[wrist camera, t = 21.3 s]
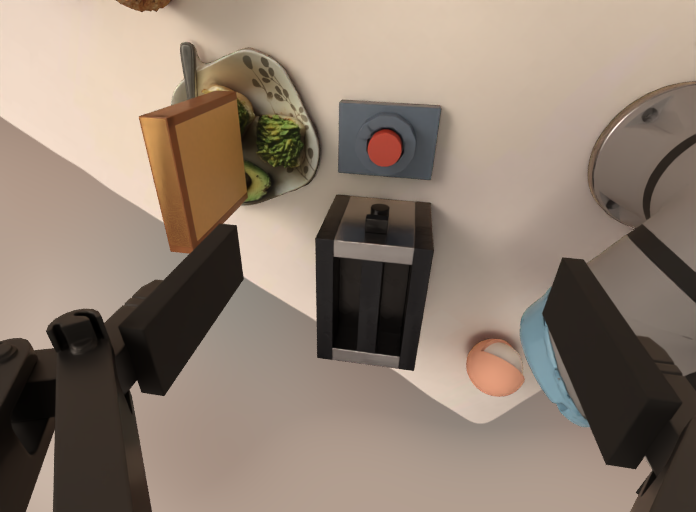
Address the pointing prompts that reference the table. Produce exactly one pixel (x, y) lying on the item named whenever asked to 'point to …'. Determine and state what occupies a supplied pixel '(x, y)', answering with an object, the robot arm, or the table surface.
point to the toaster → (372, 280)
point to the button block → (405, 119)
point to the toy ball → (495, 367)
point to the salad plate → (259, 118)
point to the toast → (196, 165)
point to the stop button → (385, 148)
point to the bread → (144, 4)
